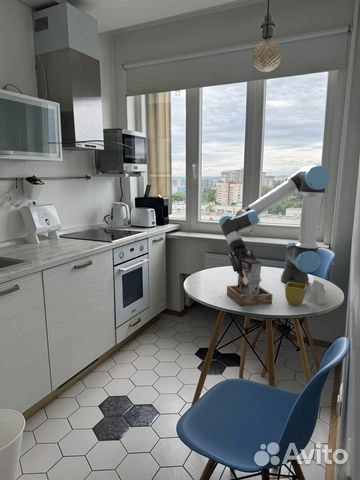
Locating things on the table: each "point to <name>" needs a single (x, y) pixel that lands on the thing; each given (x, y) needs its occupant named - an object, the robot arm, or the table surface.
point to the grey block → (317, 292)
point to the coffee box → (250, 276)
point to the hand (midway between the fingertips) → (253, 282)
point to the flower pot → (295, 293)
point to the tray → (249, 297)
